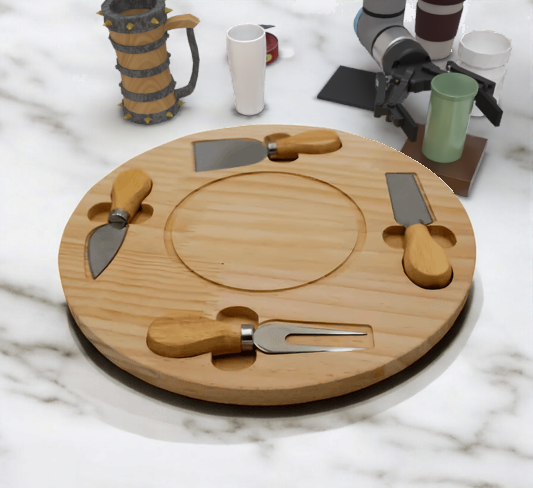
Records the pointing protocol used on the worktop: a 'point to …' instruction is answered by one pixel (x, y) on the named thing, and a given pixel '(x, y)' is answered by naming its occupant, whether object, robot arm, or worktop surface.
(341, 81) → the mat
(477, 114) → the vase
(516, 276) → the worktop surface
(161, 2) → the mug
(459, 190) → the display stand
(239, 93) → the drinking glass
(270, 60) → the canned food
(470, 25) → the worktop surface
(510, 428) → the worktop surface
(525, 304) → the worktop surface
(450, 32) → the coffee cup
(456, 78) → the tumbler
